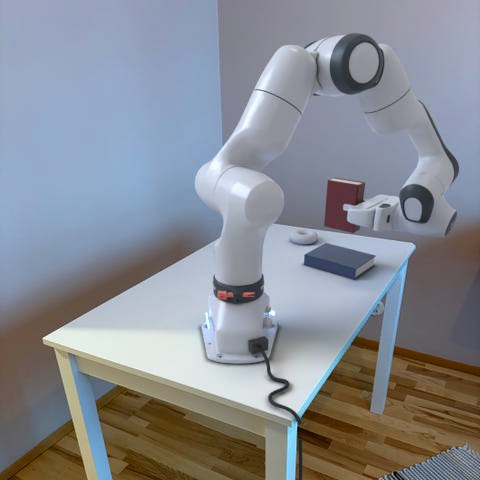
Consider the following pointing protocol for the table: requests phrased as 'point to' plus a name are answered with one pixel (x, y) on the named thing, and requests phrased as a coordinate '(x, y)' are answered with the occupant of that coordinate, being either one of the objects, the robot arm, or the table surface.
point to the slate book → (339, 260)
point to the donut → (303, 236)
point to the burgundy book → (342, 203)
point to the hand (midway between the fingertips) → (348, 204)
